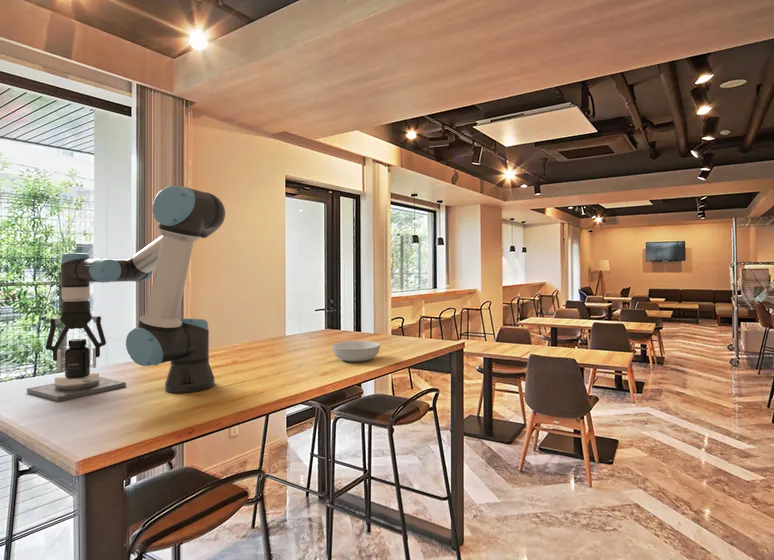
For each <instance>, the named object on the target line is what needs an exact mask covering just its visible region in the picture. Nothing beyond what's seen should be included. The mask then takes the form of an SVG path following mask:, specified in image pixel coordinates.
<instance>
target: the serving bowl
mask: <svg viewBox="0 0 774 560" xmlns="http://www.w3.org/2000/svg"><path fill="white" fill-rule="evenodd" d="M331 347H332V348H331V349H332V352H333V354H334V356H335V357H337V358H338V359H340V360H343V361H345V362H350V363H361V362H362V361H363V362H365V361H368V360H371V359H374V358H375V357H376V356H377V355H378V354H379V352H380V349H381V348H380V347H381V344H380V343H379V342H375V341H369V340H346V341H339V342H335V343H333V344H332V345H331ZM363 362H362V363H363Z"/></svg>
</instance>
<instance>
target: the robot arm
mask: <svg viewBox="0 0 774 560" xmlns="http://www.w3.org/2000/svg"><path fill="white" fill-rule="evenodd" d="M151 208H152V214H153V216H154V217H153V218H154V219H155V220H156V222H157V223H158V226H157V230H158V231H159V232H160V235H161V236H159V237H157V238H156V239H155V240H154V241H152V242H151V243H149V244H148V245H147V246H145V247H144V248H141V250H139V251H138V252H136V254H133V256H131V257H129V258H126V259H118V258H115V259H113V258H107V257H105V258H103V257H101V258H90V255H89V254H88V253H87V252H86V253H83V252H82V253H81V252H65V253H63V254H62V255H61V261H60V262H61V264H60V274H61V299H62V300H63V301H62V302H61V316H60V317H52V318H50V320H49V323H50V328H49V332H48V337H47V341H46V344H45V349H46V350H50V351H52V360H53V362H56V363H57V367H56V368H57V372H61V371H62V350H61V349H60V346H61V345H62V342H63V341H64V339H65V338H66V336H67V334H68V333H69V331H70V330H75V329H77V330H78V329H80V330H81V329H83V331H84V332H85V333H86V335H87V336H88V338H89V339H90V341H91V342H92V344H93V345H94V347H92V368H93V369H96V367H97V358H100V356H101V347H103V346H106V344H107V341H106V337H105V334H104V330H103V326H102V316H100V315H98V316H97V315H96V316H95V315H92V314H91V301H90V300H89V299H90V298H91V296H90V295H91V292H90V290H91V289H90V286H91V285H90V283H102V284H103V283H114V282H115V283H117V282H144V281H147V280H150V278H151V276H152V275H153V271H154V275H153V281H152V284H151V285H152V286H151V290H150V296H149V300H148V306H147V312H146V313H145V314H143V315H142V316H140V318H139V322H138V326H137V327H135V328H133V329H131V331H129V332H128V334H127V335H126V339H125V346H126V347H125V348H126V351H127V354H128V355H129V357H130V358H131V360H132V361H133V362H134V363H135V364H137V365H139V366H142V367H151V366H159V365H160V364H164V363H165V364H166V363H168V362H170V368H169V370H168V374H167V377H166V380H165V382H164V390H165V392H169V393H175V394H176V393H177V394H181V393H182V394H183V393H185V394H186V393H194V392H195V393H196V392H200V391H206V390H208V389H210V388H213V387H215V383H216V382H215V377H214V374H213V371H212V368H211V365H210V361H209V360H210V359H209V358H210V357H209V356H210V355H209V354H210V351H209V350H210V348H209V338H210V336H209V335H210V334H209V333H210V330H209V322H208V321H207V320H206V319H204V318H179V315H180V309H181V305H182V299H183V297H184V296H183V295H184V290H185V285H186V281H187V275H188V271H189V265H190V263H191V262H190V261H191V257H192V251H193V248H194V247H193V246H194V242H196V241H198V240H199V239H206V238H208V237H209V236H211V235H212V234H214V233H215V232H216V231H217V230H219V229H220V227H221V226H222V225H223V223H224V220H225V219H226V209H225V206H224V203H223V201H221V199H220V198H219V197H218V196H216V195H215V194H213V193H210V192H206V191H203V190H197V189H194V188H189V187H187V186H182V185H181V186H179V185H168V186H166V187H164V188H163V189H161V190H160V191H158V193H157V194H156V196H155V197H154V199H153V202H152V207H151ZM91 320H92V321H93V322H94V324H95V326H96V329H97V333H98V336H99V340H100V342H99V341H98V339H97V337H96V336H95V334H94V333H93V331H92V329H91V328H90V327H89V325H88V324H89V323H90V321H91ZM60 322H61V323H63V325H64V327H63V330H62V332H61V333H60V336H59V337H58V339H57V341H56V342H55V344H54V345H53V342H54V338H55V334H56V331H57V327H58V326H57V325H59V324H60Z"/></svg>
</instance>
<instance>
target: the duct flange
mask: <svg viewBox="0 0 774 560" xmlns="http://www.w3.org/2000/svg"><path fill="white" fill-rule="evenodd" d="M122 388H127V383H126V382H125V381H121V380H116V379H111V378H107V377H102V376H100V373H99V372H97V371H95V372H93V371H90V374H89V375H88V376H85V377H80V378H66V377H65V374H63V375H59V376H56V377H55V378H54V383H47V384H45V385H44V384H43V385H38V386H33V387H28V388H26V393H27V394H28V393H29V395H32V396H35V395H36V397H39V398H43V399H47V400H50V401H54V402H56V403H59V402H64V401H68V400H73V399H77V398H81V397H82V398H83V397H86V396H90V395H91V396H92V395H94V394H95V395H96V394H99V393H103V392H104V393H105V392H108V391H113V389H114V390H117V389H122Z"/></svg>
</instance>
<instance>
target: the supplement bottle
mask: <svg viewBox="0 0 774 560" xmlns="http://www.w3.org/2000/svg"><path fill="white" fill-rule="evenodd" d="M87 345H88V343H87V339H86V338H75V339H73V338H72V339H69V340H68V348H66V349H65V351H64V375H65V377H66V378H80V377H85V376H88V375H89V374H90V372H91V350H90V348H89V347H88V346H87Z"/></svg>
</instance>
